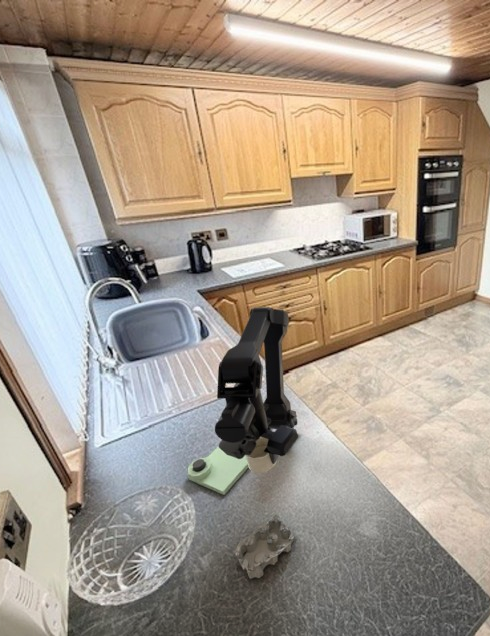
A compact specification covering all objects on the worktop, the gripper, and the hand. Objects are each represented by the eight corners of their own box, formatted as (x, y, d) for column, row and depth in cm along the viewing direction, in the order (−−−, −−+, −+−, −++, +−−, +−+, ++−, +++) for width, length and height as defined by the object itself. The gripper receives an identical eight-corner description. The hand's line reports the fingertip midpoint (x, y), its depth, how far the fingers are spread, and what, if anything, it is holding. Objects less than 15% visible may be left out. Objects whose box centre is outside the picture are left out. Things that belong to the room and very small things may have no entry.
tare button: (200, 461, 92) (198, 457, 91) (207, 465, 90) (206, 460, 90) (191, 469, 89) (189, 465, 89) (199, 473, 88) (197, 469, 88)
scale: (228, 438, 102) (226, 430, 101) (263, 451, 97) (261, 443, 96) (185, 479, 90) (182, 471, 89) (223, 496, 85) (220, 488, 84)
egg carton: (251, 586, 67) (247, 574, 65) (235, 556, 72) (230, 545, 70) (298, 546, 73) (295, 534, 72) (279, 522, 78) (277, 510, 77)
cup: (260, 448, 86) (256, 433, 83) (282, 456, 83) (279, 441, 81) (242, 469, 80) (238, 454, 78) (266, 478, 78) (262, 462, 76)
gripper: (187, 420, 71) (206, 473, 78) (261, 445, 64) (274, 500, 71) (225, 388, 80) (239, 438, 87) (294, 407, 73) (303, 459, 80)
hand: (262, 458), depth 81 cm, fingers closed on cup, 7 cm apart
